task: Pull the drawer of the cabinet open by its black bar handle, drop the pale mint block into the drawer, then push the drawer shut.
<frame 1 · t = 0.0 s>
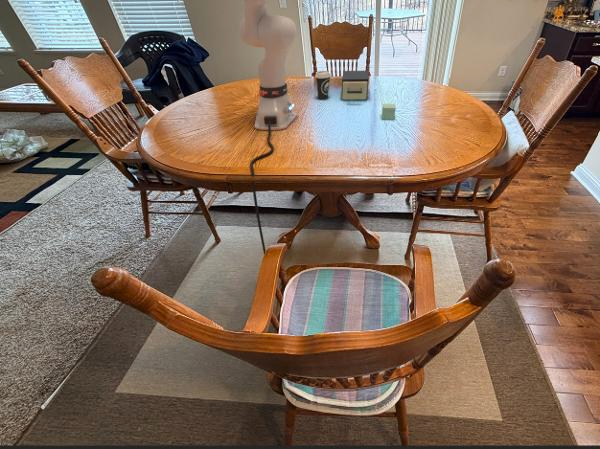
block: (387, 117, 132), on the table
drawer: (354, 88, 150), point 5 cm above the table, slide at 1.0 cm
coffee cup: (322, 98, 156), on the table
cabinet: (354, 95, 157), on the table
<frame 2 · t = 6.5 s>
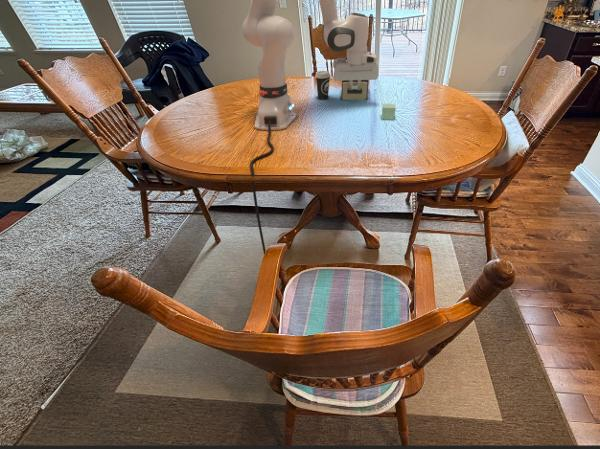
hand: (354, 89, 143), 7 cm above the table, tool pointing down, fingers closed, pressing on drawer
drawer: (354, 88, 149), point 5 cm above the table, slide at 1.3 cm, touching gripper
everything else where it was.
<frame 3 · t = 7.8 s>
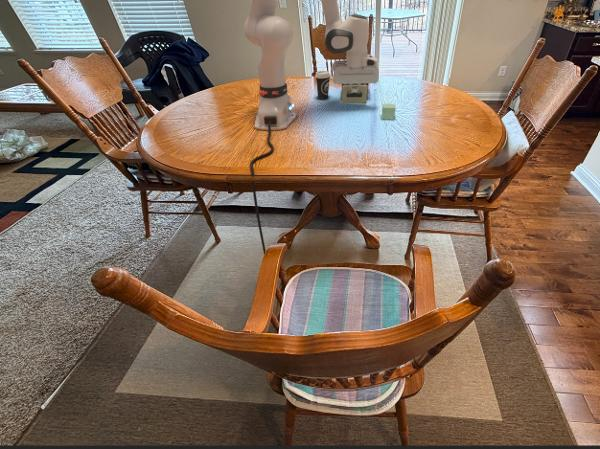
hand: (354, 93, 139), 7 cm above the table, tool pointing down, fingers closed, pressing on drawer
drawer: (354, 91, 146), point 5 cm above the table, slide at 6.4 cm, touching gripper
everything else where it was.
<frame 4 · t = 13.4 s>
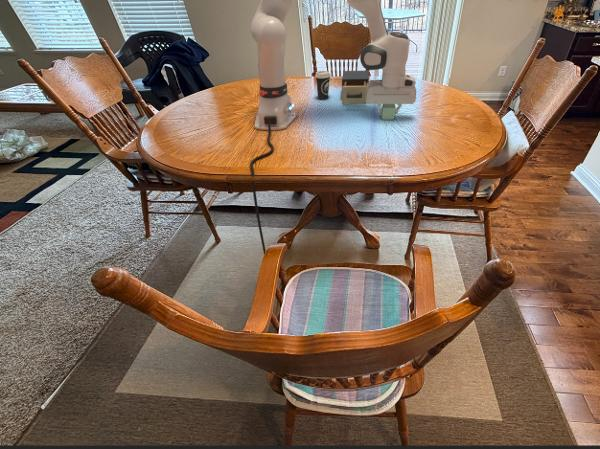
hand: (388, 113, 131), 2 cm above the table, tool pointing down, fingers closed on block, 5 cm apart
block: (387, 117, 132), on the table, touching gripper
drawer: (354, 92, 145), point 5 cm above the table, slide at 7.4 cm
everything else where it was.
when the fingers open (10 cm above the table, at t = 18.8 s): block drops 6 cm, resting on drawer.
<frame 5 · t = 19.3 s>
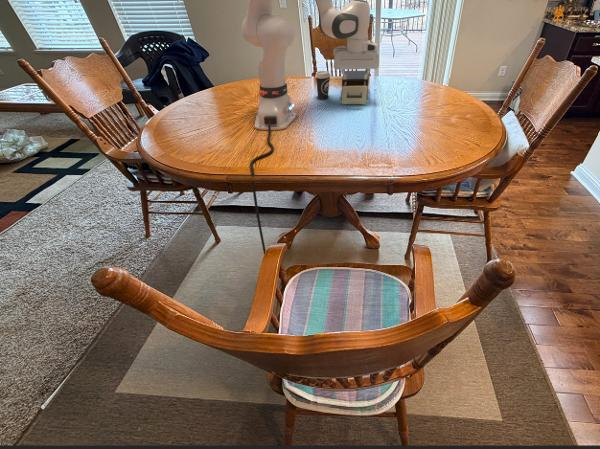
hand: (355, 79, 141), 11 cm above the table, tool pointing down, fingers open, 8 cm apart
block: (354, 98, 146), point 2 cm above the table, touching drawer
drawer: (354, 92, 145), point 5 cm above the table, slide at 7.4 cm, touching block
everything else where it was.
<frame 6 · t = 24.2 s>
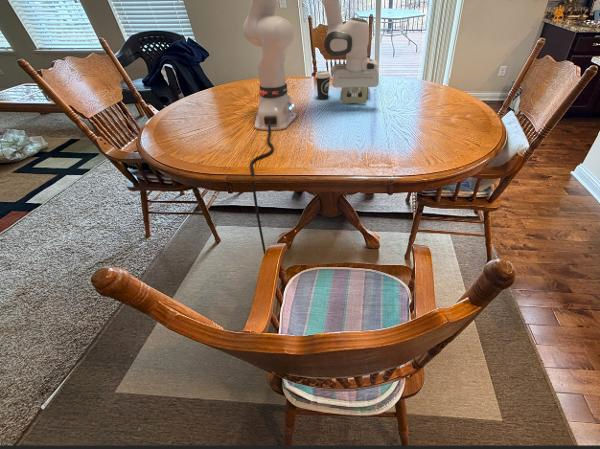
hand: (354, 96, 138), 6 cm above the table, tool pointing down, fingers closed
block: (354, 97, 147), point 2 cm above the table, touching drawer
drawer: (354, 91, 146), point 5 cm above the table, slide at 6.0 cm, touching block, gripper
everything else where it was.
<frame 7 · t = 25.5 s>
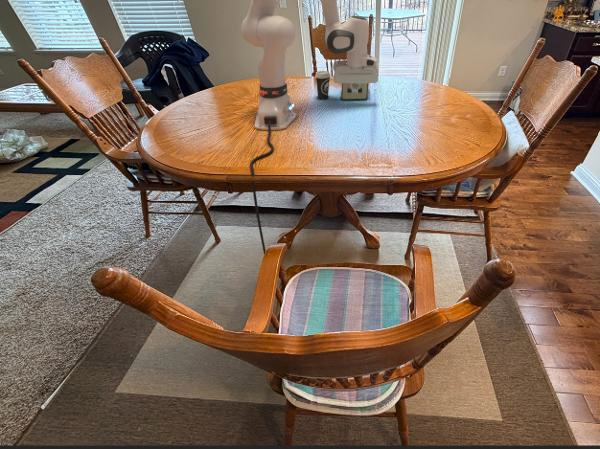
hand: (354, 92, 142), 6 cm above the table, tool pointing down, fingers closed, pressing on drawer
block: (354, 93, 152), point 2 cm above the table, touching drawer
drawer: (354, 87, 150), point 5 cm above the table, slide at 0.0 cm, touching block, cabinet, gripper
everything else where it was.
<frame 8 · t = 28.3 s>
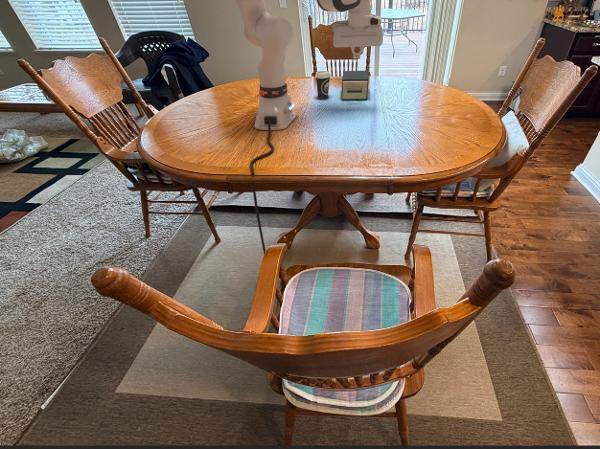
hand: (356, 58, 129), 21 cm above the table, tool pointing down, fingers closed
drawer: (354, 87, 150), point 5 cm above the table, slide at 0.0 cm, touching block, cabinet
everything else where it was.
at the end: block inside the target area in the cabinet (4.6 cm from its centre), point 2.1 cm above the cabinet's base; drawer pulled out 7.4 cm at the most during the clip, back to where it started at the end; drawer slide at 0.0 cm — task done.
